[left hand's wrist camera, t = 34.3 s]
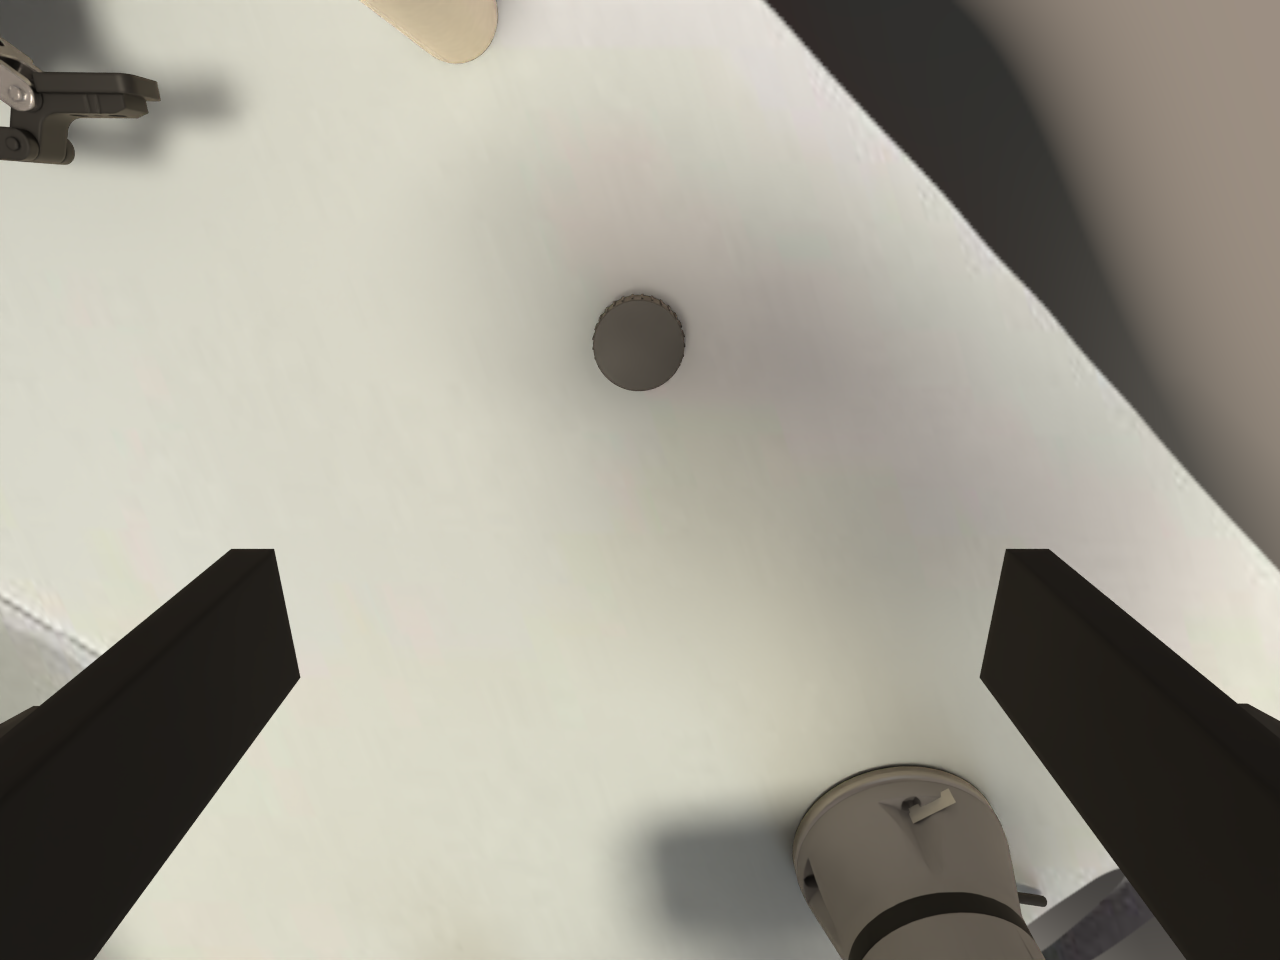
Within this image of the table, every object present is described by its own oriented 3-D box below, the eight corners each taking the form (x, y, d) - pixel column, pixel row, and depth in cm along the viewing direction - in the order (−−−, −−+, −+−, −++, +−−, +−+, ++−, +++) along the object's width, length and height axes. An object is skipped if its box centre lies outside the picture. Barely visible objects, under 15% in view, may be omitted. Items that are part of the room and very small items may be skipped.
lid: (674, 285, 39) (676, 289, 36) (690, 373, 40) (692, 383, 38) (586, 303, 39) (582, 308, 37) (604, 390, 41) (602, 400, 38)
